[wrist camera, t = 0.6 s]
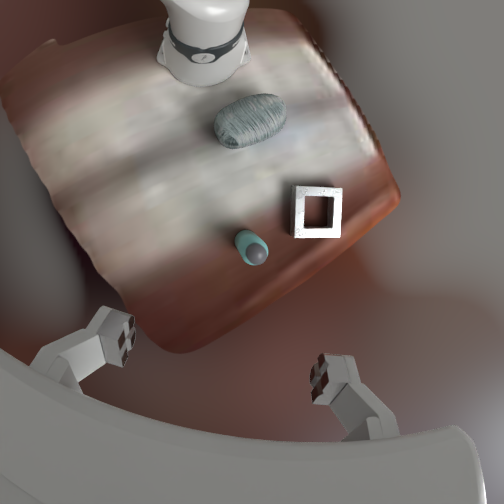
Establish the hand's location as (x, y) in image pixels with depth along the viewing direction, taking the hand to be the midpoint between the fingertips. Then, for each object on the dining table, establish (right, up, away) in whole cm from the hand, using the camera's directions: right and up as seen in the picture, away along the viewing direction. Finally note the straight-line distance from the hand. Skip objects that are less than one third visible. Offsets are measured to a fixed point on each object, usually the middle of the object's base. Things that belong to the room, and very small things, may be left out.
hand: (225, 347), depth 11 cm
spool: (0, +28, +38) cm, 48 cm away
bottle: (0, +6, +43) cm, 44 cm away
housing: (+14, +12, +44) cm, 48 cm away
